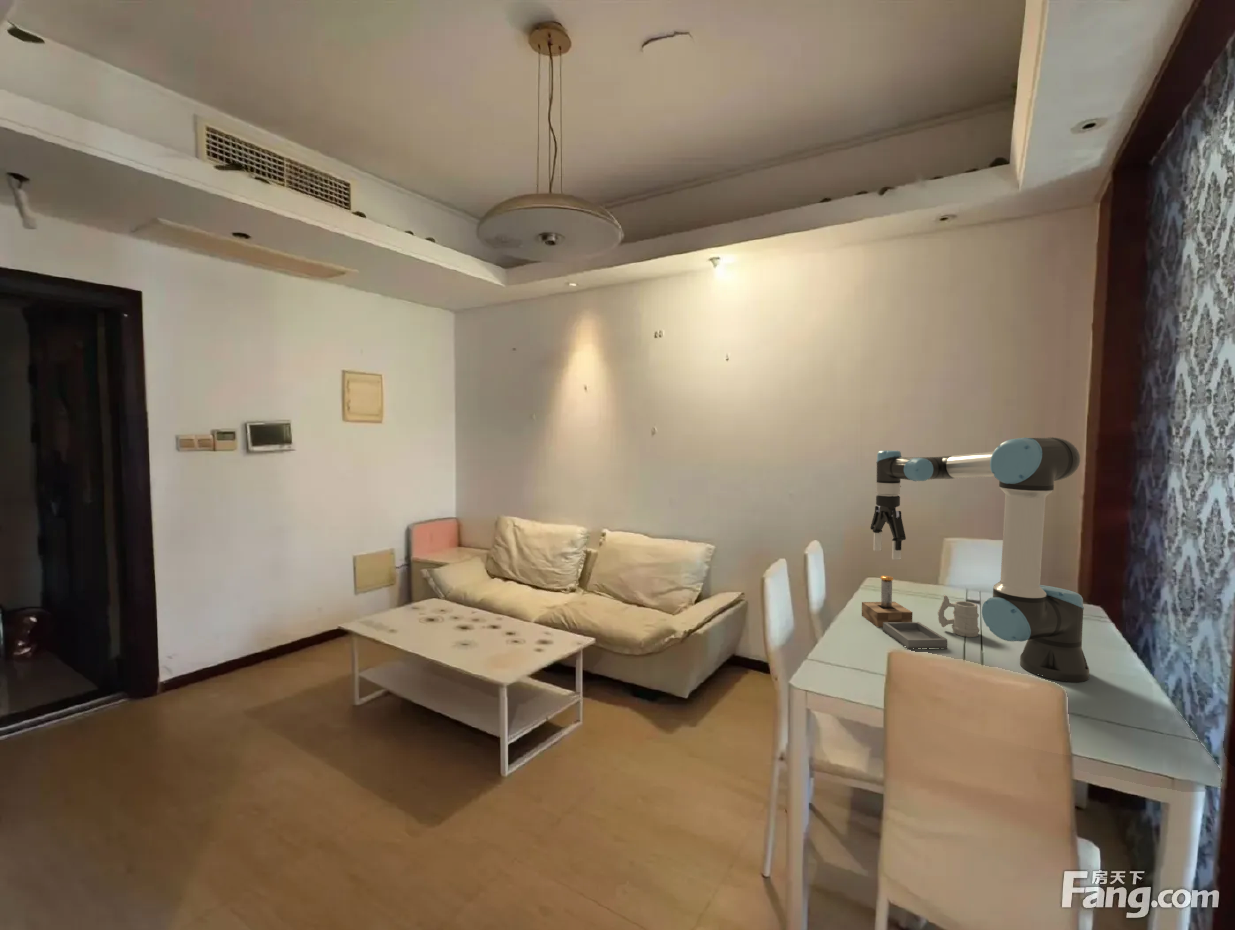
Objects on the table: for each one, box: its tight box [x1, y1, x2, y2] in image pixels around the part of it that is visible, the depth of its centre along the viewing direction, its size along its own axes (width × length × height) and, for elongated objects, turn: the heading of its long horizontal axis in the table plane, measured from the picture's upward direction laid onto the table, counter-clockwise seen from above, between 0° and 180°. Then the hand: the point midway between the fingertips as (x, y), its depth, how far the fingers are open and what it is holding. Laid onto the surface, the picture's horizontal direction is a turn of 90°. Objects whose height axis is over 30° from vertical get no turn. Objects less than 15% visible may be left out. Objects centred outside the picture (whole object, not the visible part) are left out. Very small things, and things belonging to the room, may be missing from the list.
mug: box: [937, 594, 980, 638], centre depth 184 cm, size 8×12×12 cm, turn 62°
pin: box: [880, 575, 894, 609], centre depth 196 cm, size 4×4×16 cm
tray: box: [882, 621, 948, 651], centre depth 178 cm, size 16×12×3 cm
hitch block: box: [861, 601, 913, 628], centre depth 196 cm, size 12×12×5 cm
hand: (886, 555), depth 195 cm, fingers open, 13 cm apart
